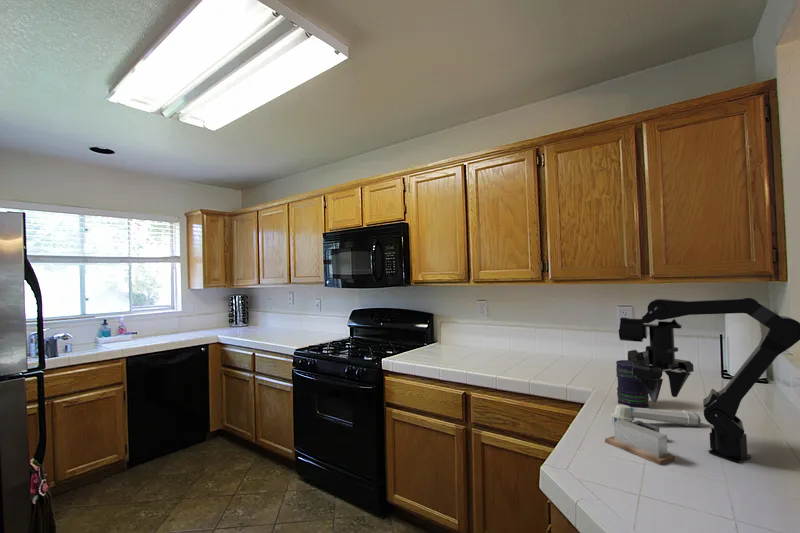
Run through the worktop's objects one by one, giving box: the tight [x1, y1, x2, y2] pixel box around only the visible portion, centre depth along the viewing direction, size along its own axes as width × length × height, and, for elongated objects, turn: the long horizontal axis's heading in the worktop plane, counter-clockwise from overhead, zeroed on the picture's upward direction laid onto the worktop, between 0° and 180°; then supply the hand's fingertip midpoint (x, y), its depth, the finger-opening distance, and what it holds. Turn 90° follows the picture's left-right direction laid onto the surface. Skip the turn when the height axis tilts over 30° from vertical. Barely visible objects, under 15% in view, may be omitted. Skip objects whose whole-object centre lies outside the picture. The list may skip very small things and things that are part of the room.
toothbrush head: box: [611, 403, 702, 427], centre depth 120 cm, size 5×7×25 cm
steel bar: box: [613, 420, 668, 458], centre depth 102 cm, size 12×4×5 cm, turn 25°
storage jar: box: [615, 359, 650, 409], centre depth 140 cm, size 10×10×15 cm
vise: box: [631, 420, 660, 433], centre depth 110 cm, size 6×9×4 cm
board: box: [604, 435, 676, 466], centre depth 103 cm, size 15×6×1 cm, turn 25°
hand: (664, 399), depth 107 cm, fingers open, 9 cm apart
